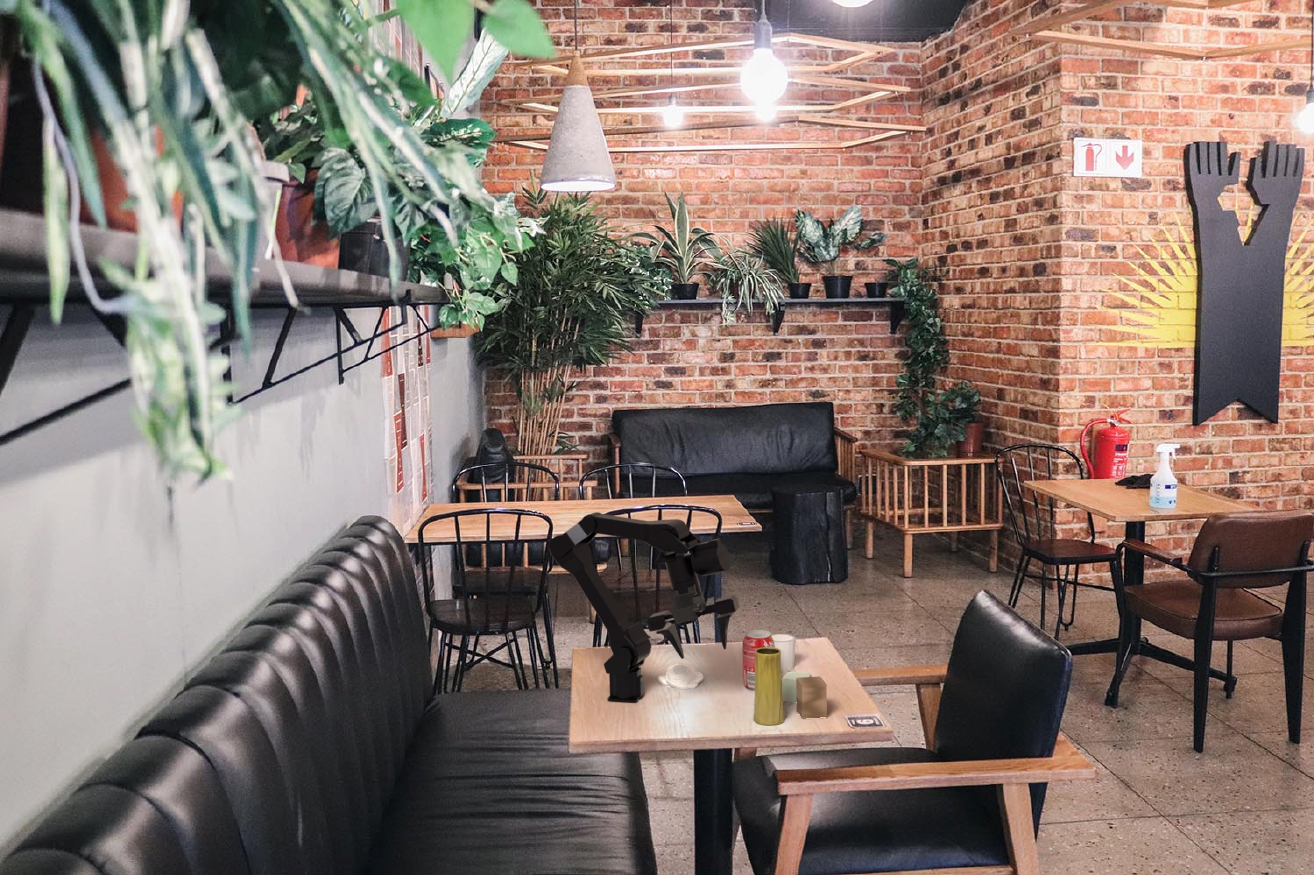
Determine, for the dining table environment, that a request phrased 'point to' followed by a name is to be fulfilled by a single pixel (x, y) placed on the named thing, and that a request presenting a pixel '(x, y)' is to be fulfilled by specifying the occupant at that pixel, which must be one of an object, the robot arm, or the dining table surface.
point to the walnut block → (811, 697)
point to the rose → (681, 677)
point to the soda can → (753, 653)
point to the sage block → (791, 685)
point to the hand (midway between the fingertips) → (703, 653)
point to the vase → (768, 687)
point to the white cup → (785, 650)
